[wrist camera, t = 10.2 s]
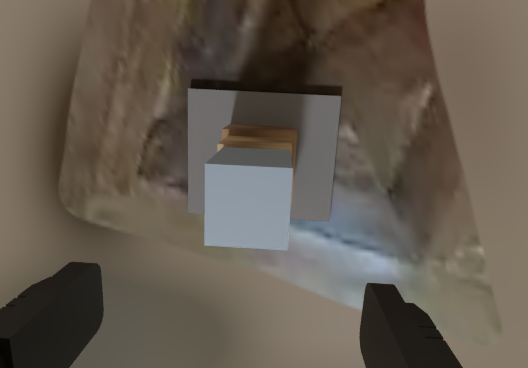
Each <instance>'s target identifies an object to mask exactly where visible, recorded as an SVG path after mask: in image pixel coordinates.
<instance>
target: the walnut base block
mask: <svg viewBox="0 0 528 368" xmlns="http://www.w3.org/2000/svg"><path fill="white" fill-rule="evenodd" d="M228 135H229V136H248V137H266V138H285V139H291V144H292V158H291V159H292V165H293V176H292V191H291V205H292V198H293V184H294V169H295V155H296V141H297V131H296V129H295V127H281V126H262V125H244V124H229V125H228V126H226V127H224V128H223V129H222V140H223V139H224V138H225V137H227V136H228Z"/></svg>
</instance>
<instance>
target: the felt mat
mask: <svg viewBox="0 0 528 368" xmlns="http://www.w3.org/2000/svg"><path fill="white" fill-rule="evenodd" d="M340 105H341V96H328V95H308V94H288V93H268V92H248V91H228V90H208V89H188V213H200V214H205V163H206V162H207V161H208V160H210V159H211V158H212V157H213V156H214V155H215V154H216V153H217V147H218V143H219V142H220V141H222V129H223V128H224V127H226V126H228V125H229V124H244V125H262V126H281V127H295V129H296V131H297V141H296V155H295V169H294V184H293V198H292V205H291V207H290V219H298V220H314V221H329V218H330V208H331V197H332V187H333V177H334V167H335V156H336V146H337V136H338V125H339V115H340Z"/></svg>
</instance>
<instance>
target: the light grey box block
mask: <svg viewBox="0 0 528 368" xmlns="http://www.w3.org/2000/svg"><path fill="white" fill-rule="evenodd" d="M292 176H293V165H292V159H291V152H290V150H273V149H253V148H233V147H223V148H221V149H220V150H219V151H218V152H217V153H216V154H215V155H214V156H213V157H212V158H211V159H210V160H208V161H207V162H206V163H205V245H207V246H224V247H241V248H258V249H274V250H288V238H289V223H290V207H291V191H292Z"/></svg>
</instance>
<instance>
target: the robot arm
mask: <svg viewBox="0 0 528 368" xmlns="http://www.w3.org/2000/svg"><path fill="white" fill-rule="evenodd" d="M103 308H104V307H103V292H102V277H101V268H100V266H99V265H98V264H97V263H84V262H70V263H68V264H67V265H66V266H65V267H63V268H62V269H61V270H60V271H58V272H57V273H56V274H54V275H53V276H52V277H49V278H47V279H44V280H42V281H40V282H38V283H36V284H33V285H31V286H30V287H29V288H27V289H26V290H25V291H23V292H22V293H21V294H20V295H18V298H14V299H13V300H12V301H10V302H9V303H8V304H6V307H2V308H1V309H0V368H69V367H70V366H71V365H72V363H73V362H74V361H75V360H76V358H77V357H78V356H79V354H80V353H81V352H82V351H83V349H84V348H85V347H86V345H87V344H88V343H89V341H90V340H91V339H92V338H93V336H94V335H95V334H96V333H97V331H98V329H99V327H100V325H101V322H102V318H103V310H104V309H103ZM360 348H361V353H362V356H363V360H364V363H365V366H366V368H463V367H462V366H461V364H460V363H459V361H458V360H457V358H456V357H455V355H454V354H453V352H452V351H451V349H450V347H449V346H448V345H447V343H446V341H443V337H442V335H441V334H440V332H439V331H438V330H436V326H435V325H434V323H433V322H432V320H431V319H430V317H429V315H428V314H427V313H425V312H424V311H423V310H421V309H420V308H419V307H418V306H416V305H415V304H414V303H405V302H404V300H403V298H402V297H401V295H400V293H399V291H398V290H397V288H396V286H395V285H393V284H379V283H367V285H366V288H365V294H364V302H363V309H362V317H361V325H360Z"/></svg>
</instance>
